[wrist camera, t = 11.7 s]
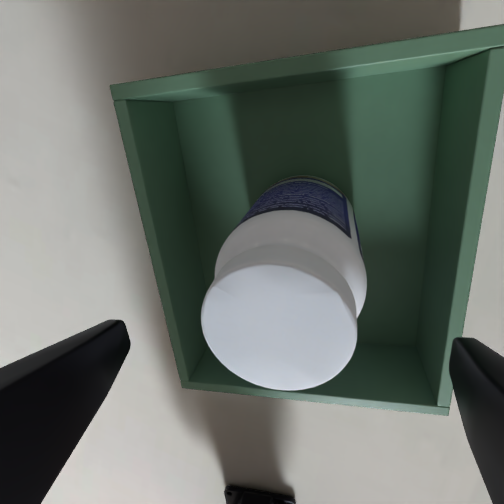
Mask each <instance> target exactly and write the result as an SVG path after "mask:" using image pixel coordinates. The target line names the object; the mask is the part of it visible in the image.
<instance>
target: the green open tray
mask: <svg viewBox="0 0 504 504" xmlns="http://www.w3.org/2000/svg"><path fill="white" fill-rule="evenodd" d="M110 90H111V94H112V98H113V100H114V106H115V111H116V115H117V119H118V123H119V127H120V131H121V136H122V140H123V144H124V148H125V152H126V156H127V161H128V165H129V169H130V173H131V177H132V181H133V186H134V190H135V194H136V198H137V202H138V206H139V211H140V215H141V219H142V223H143V227H144V231H145V236H146V240H147V244H148V248H149V252H150V256H151V261H152V265H153V269H154V273H155V277H156V281H157V286H158V290H159V294H160V298H161V302H162V306H163V311H164V315H165V319H166V323H167V327H168V331H169V336H170V340H171V344H172V348H173V352H174V356H175V361H176V365H177V369H178V373H179V377H180V380H181V386H182V388H186V389H195V390H205V391H214V392H224V393H233V394H243V395H253V396H262V397H272V398H281V399H291V400H300V401H310V402H319V403H329V404H338V405H348V406H357V407H367V408H377V409H386V410H396V411H405V412H415V413H424V414H434V415H443V416H448V415H449V409H450V403H451V397H452V391H453V385H452V382H451V378H450V374H449V360H450V354H451V348H452V342H453V340H454V338H456V337H462V333H463V327H464V321H465V315H466V310H467V304H468V298H469V292H470V286H471V280H472V275H473V269H474V263H475V257H476V251H477V245H478V240H479V234H480V228H481V222H482V216H483V210H484V205H485V199H486V193H487V187H488V181H489V175H490V170H491V164H492V158H493V152H494V146H495V140H496V134H497V129H498V123H499V117H500V111H501V105H502V99H503V94H504V24H501V25H494V26H488V27H482V28H475V29H469V30H462V31H456V32H449V33H443V34H436V35H430V36H423V37H417V38H410V39H404V40H397V41H391V42H384V43H378V44H372V45H365V46H359V47H352V48H346V49H339V50H333V51H326V52H320V53H313V54H307V55H300V56H294V57H287V58H281V59H275V60H268V61H262V62H255V63H249V64H242V65H236V66H229V67H223V68H216V69H210V70H203V71H197V72H190V73H184V74H177V75H171V76H165V77H158V78H152V79H145V80H139V81H132V82H126V83H119V84H113V85H110ZM299 175H308V176H315V177H318V178H322V179H324V180H327V181H328V182H330V183H332V184H334V185H335V186H336V187H338V188H339V189H340V190H341V191H342V192H343V193H344V194H345V196H346V197H347V198H348V200H349V202H350V204H351V206H352V208H353V211H354V213H355V217H356V222H357V227H358V233H359V238H360V244H361V248H362V254H363V259H364V264H365V268H366V276H367V291H366V298H365V301H364V305H363V307H362V310H361V312H360V314H359V316H358V317H357V342H356V347H355V350H354V353H353V355H352V357H351V359H350V361H349V362H348V363H347V365H346V366H345V367H344V368H343V369H342V370H341V371H340V372H339V373H338V374H337V375H336V376H335V377H333V378H332V379H330V380H329V381H327V382H325V383H323V384H320V385H318V386H315V387H311V388H307V389H303V390H276V389H270V388H266V387H262V386H259V385H256V384H253V383H251V382H249V381H246V380H245V379H243V378H241V377H239V376H238V375H236V374H235V373H233V372H232V371H230V370H229V369H228V368H227V367H225V366H224V365H223V364H222V363H221V362H220V361H219V360H218V358H217V357H216V356H215V355H214V353H213V352H212V351H211V349H210V347H209V346H208V344H207V342H206V339H205V337H204V334H203V330H202V325H201V308H202V304H203V300H204V298H205V295H206V293H207V291H208V289H209V287H210V286H211V284H212V282H213V281H214V279H215V266H216V261H217V258H218V254H219V252H220V250H221V248H222V246H223V244H224V242H225V241H226V239H227V238H228V236H229V235H230V233H231V232H232V231H233V230H234V228H235V227H236V226H237V225H238V224H239V222H240V221H241V220H242V218H243V217H244V216H245V215H246V214H247V212H248V211H249V210H250V209H251V207H252V206H253V205H254V203H255V202H256V201H257V200H258V198H259V197H260V196H261V195H262V194H263V193H264V192H265V191H266V190H267V189H268V188H269V187H270V186H271V185H273V184H274V183H276V182H278V181H280V180H282V179H285V178H288V177H292V176H299Z"/></svg>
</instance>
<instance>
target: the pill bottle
mask: <svg viewBox="0 0 504 504" xmlns="http://www.w3.org/2000/svg"><path fill="white" fill-rule="evenodd" d="M366 291H367V276H366V268H365V264H364V259H363V254H362V248H361V244H360V238H359V233H358V227H357V222H356V217H355V213H354V211H353V208H352V206H351V204H350V202H349V200H348V198H347V197H346V196H345V194H344V193H343V192H342V191H341V190H340V189H339V188H338V187H336V186H335V185H334V184H332V183H330V182H328V181H327V180H324V179H322V178H318V177H315V176H308V175H299V176H292V177H288V178H285V179H282V180H280V181H278V182H276V183H274V184H273V185H271V186H270V187H269V188H268V189H267V190H266V191H265V192H264V193H263V194H262V195H261V196H260V197H259V198H258V200H257V201H256V202H255V203H254V205H253V206H252V207H251V209H250V210H249V211H248V212H247V214H246V215H245V216H244V217H243V218H242V220H241V221H240V222H239V224H238V225H237V226H236V227H235V228H234V230H233V231H232V232H231V233H230V235H229V236H228V238H227V239H226V241H225V242H224V244H223V246H222V248H221V250H220V252H219V254H218V258H217V261H216V266H215V279H214V281H213V282H212V284H211V286H210V287H209V289H208V291H207V293H206V295H205V298H204V300H203V304H202V308H201V325H202V330H203V334H204V337H205V339H206V342H207V344H208V346H209V347H210V349H211V351H212V352H213V353H214V355H215V356H216V357H217V358H218V360H219V361H220V362H221V363H222V364H223V365H224V366H225V367H227V368H228V369H229V370H230V371H232V372H233V373H235V374H236V375H238V376H239V377H241V378H243V379H245V380H246V381H249V382H251V383H253V384H256V385H259V386H262V387H266V388H270V389H276V390H303V389H307V388H311V387H315V386H318V385H320V384H323V383H325V382H327V381H329V380H330V379H332V378H333V377H335V376H336V375H337V374H338V373H339V372H340V371H341V370H342V369H343V368H344V367H345V366H346V365H347V363H348V362H349V361H350V359H351V357H352V355H353V353H354V350H355V347H356V342H357V317H358V316H359V314H360V312H361V310H362V307H363V305H364V301H365V298H366Z"/></svg>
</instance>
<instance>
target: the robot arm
mask: <svg viewBox="0 0 504 504" xmlns="http://www.w3.org/2000/svg"><path fill="white" fill-rule="evenodd" d="M130 345H131V344H130V339H129V335H128V332H127V329H126V325H125V323H124V322H123V321H122V320H107V321H105V322H103V323H101V324H98V325H96V326H94V327H92V328H89V329H87V330H85V331H83V332H80V333H78V334H76V335H74V336H71V337H69V338H67V339H65V340H62V341H60V342H58V343H56V344H53V345H51V346H49V347H47V348H44V349H42V350H40V351H38V352H35V353H33V354H31V355H29V356H26V357H24V358H22V359H20V360H17V361H15V362H13V363H11V364H8V365H6V366H4V367H2V368H0V504H41V502H42V501H43V499H44V498H45V496H46V494H47V493H48V491H49V489H50V488H51V486H52V484H53V483H54V481H55V480H56V478H57V476H58V475H59V473H60V471H61V470H62V468H63V467H64V465H65V463H66V462H67V460H68V458H69V457H70V455H71V453H72V452H73V450H74V449H75V447H76V445H77V444H78V442H79V440H80V439H81V437H82V436H83V434H84V432H85V431H86V429H87V427H88V426H89V424H90V422H91V421H92V419H93V418H94V416H95V414H96V413H97V411H98V409H99V408H100V406H101V404H102V403H103V401H104V399H105V398H106V396H107V394H108V392H109V390H110V388H111V386H112V384H113V382H114V380H115V378H116V376H117V374H118V372H119V370H120V368H121V366H122V364H123V362H124V360H125V358H126V356H127V354H128V352H129V350H130ZM449 374H450V378H451V382H452V385H453V389H454V393H455V396H456V400H457V404H458V407H459V411H460V415H461V419H462V422H463V426H464V429H465V433H466V436H467V439H468V442H469V445H470V447H471V450H472V452H473V455H474V458H475V460H476V463H477V465H478V468H479V470H480V473H481V475H482V478H483V480H484V483H485V485H486V488H487V490H488V493H489V495H490V498H491V500H492V503H493V504H504V357H502V356H501V355H499V354H498V353H496V352H495V351H493V350H492V349H490V348H489V347H487V346H486V345H484V344H483V343H481V342H480V341H478V340H476V339H474V338H464V337H456V338H454V340H453V342H452V348H451V354H450V360H449ZM224 494H225V498H226V503H227V504H296V503H295V499H294V498H293V497H290V496H286V495H280V494H274V493H269V492H263V491H258V490H252V489H246V488H241V487H235V486H226V488H225V491H224Z"/></svg>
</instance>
